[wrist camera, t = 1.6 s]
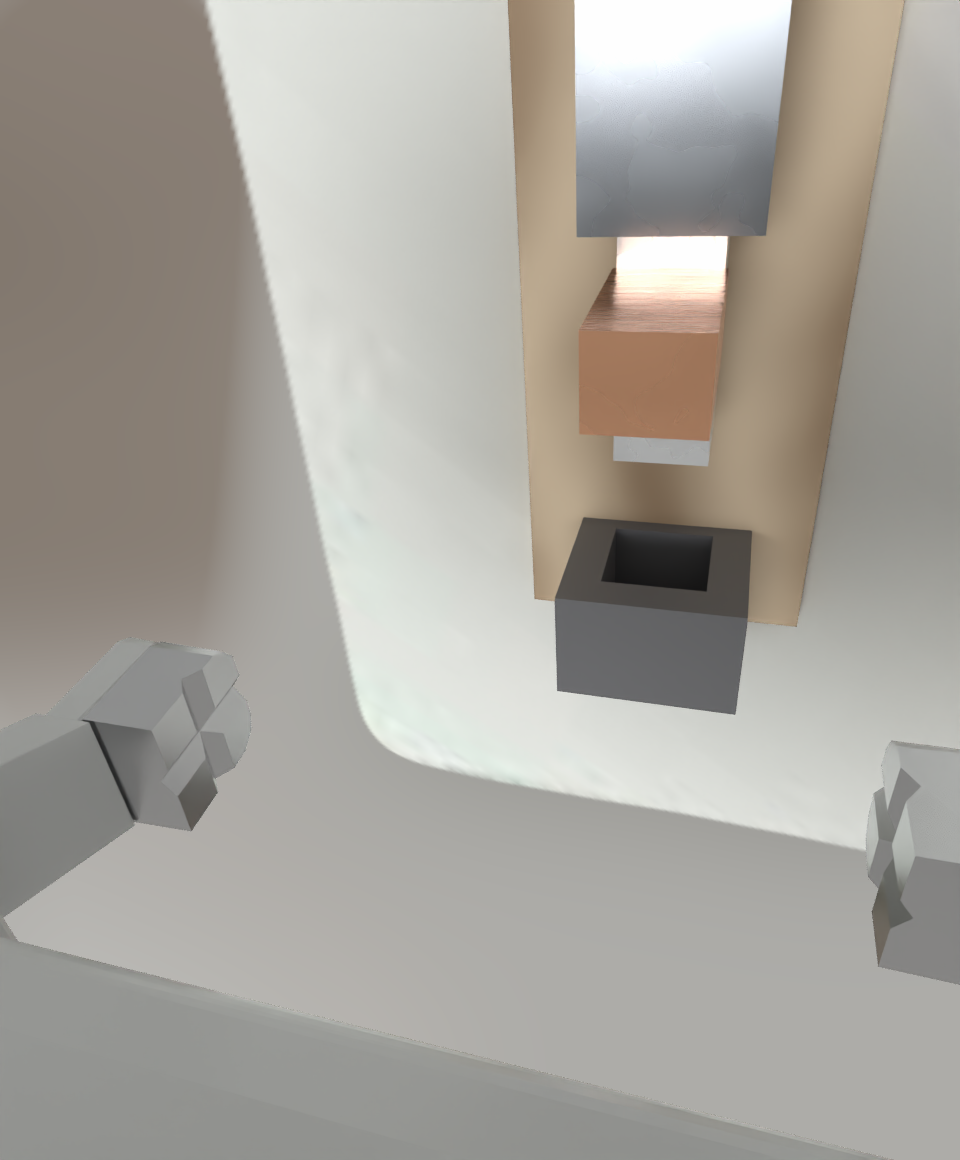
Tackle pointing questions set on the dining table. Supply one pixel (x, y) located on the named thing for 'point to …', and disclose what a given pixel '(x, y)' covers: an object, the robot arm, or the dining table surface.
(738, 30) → the sleeve
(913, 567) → the dining table surface
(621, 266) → the bar
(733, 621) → the socket block
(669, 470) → the oak board
